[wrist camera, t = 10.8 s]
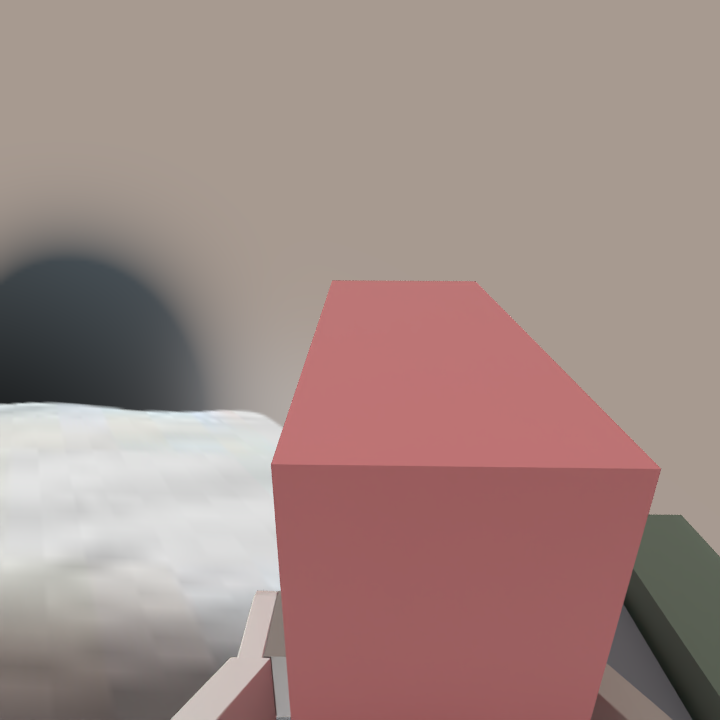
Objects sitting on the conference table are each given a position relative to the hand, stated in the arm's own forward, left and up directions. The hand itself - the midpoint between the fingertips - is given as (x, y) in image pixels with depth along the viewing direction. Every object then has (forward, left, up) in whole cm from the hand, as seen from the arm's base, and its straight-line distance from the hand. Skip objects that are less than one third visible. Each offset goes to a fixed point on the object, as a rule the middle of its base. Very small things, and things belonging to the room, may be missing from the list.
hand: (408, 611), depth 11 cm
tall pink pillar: (0, +1, -8) cm, 8 cm away
